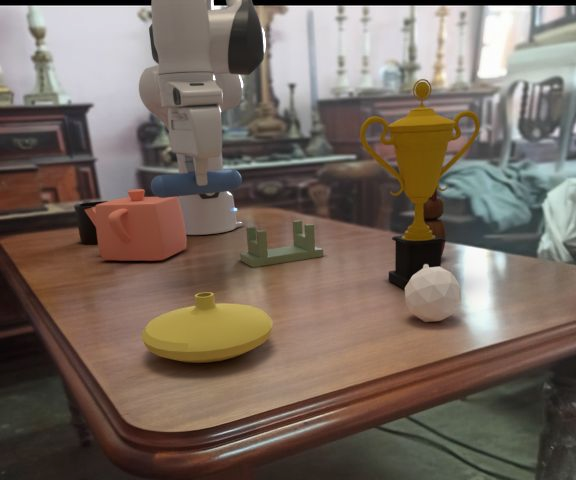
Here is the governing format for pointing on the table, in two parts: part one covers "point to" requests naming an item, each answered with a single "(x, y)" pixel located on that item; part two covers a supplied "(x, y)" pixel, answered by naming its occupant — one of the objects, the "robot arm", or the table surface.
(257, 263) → the holder
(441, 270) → the ornament
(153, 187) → the handle
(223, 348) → the vase
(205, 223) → the robot arm
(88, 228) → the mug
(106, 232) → the teapot
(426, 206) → the wooden figurine
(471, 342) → the table surface
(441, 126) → the trophy
